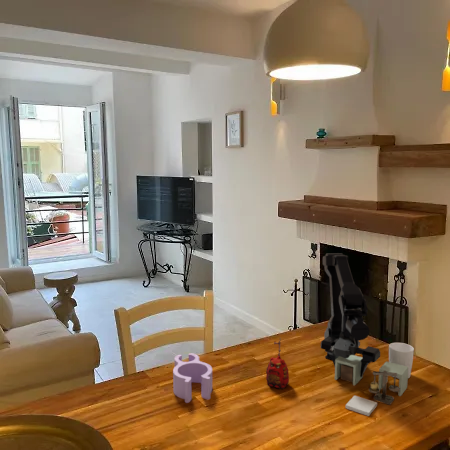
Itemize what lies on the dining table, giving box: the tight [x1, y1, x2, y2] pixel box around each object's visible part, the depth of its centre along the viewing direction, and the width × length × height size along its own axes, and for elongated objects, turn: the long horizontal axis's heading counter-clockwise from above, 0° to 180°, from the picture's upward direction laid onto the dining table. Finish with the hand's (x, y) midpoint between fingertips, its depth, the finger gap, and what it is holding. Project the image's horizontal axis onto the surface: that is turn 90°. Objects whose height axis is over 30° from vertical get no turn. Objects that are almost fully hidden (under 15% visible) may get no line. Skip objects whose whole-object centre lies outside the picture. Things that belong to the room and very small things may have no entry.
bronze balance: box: [368, 371, 400, 406], centre depth 138 cm, size 9×4×10 cm, turn 53°
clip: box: [172, 352, 213, 404], centre depth 147 cm, size 20×12×7 cm, turn 17°
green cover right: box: [378, 360, 409, 397], centre depth 145 cm, size 7×7×7 cm
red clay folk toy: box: [265, 337, 290, 390], centre depth 148 cm, size 8×7×15 cm
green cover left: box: [334, 354, 364, 386], centre depth 152 cm, size 7×7×7 cm
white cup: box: [388, 342, 415, 379], centre depth 154 cm, size 8×8×10 cm
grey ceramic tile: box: [345, 395, 378, 417], centre depth 135 cm, size 7×7×1 cm
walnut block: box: [340, 364, 353, 383], centre depth 152 cm, size 4×4×5 cm
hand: (348, 372), depth 152 cm, fingers open, 8 cm apart
